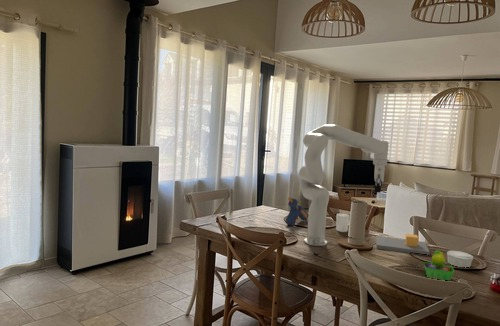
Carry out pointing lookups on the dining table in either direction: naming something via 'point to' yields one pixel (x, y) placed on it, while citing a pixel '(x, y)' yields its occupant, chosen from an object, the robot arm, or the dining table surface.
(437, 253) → the fruit basket
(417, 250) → the grey flat board
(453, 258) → the ramekin
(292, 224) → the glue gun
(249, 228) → the dining table surface
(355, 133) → the robot arm
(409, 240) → the orange cube
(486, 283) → the dining table surface
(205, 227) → the dining table surface
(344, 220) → the white cup
